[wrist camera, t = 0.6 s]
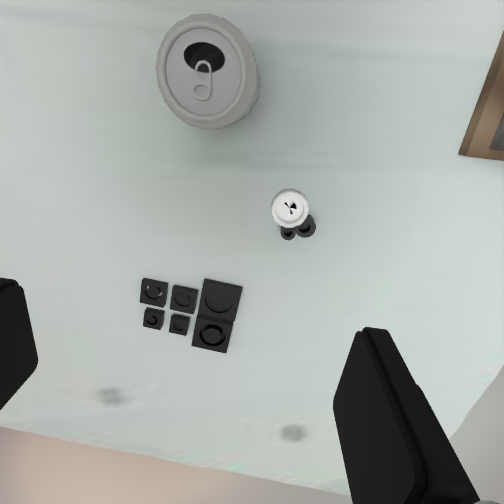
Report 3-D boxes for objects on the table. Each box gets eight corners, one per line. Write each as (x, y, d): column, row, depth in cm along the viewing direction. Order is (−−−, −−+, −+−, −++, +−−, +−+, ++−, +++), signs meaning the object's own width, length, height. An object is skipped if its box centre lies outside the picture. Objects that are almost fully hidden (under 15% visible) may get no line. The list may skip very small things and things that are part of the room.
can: (264, 46, 31) (262, 14, 20) (255, 127, 34) (249, 137, 24) (189, 36, 31) (146, -2, 20) (186, 118, 34) (148, 123, 24)
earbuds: (320, 194, 39) (325, 200, 35) (271, 356, 48) (271, 372, 45) (159, 156, 38) (148, 159, 35) (141, 327, 47) (131, 341, 44)
